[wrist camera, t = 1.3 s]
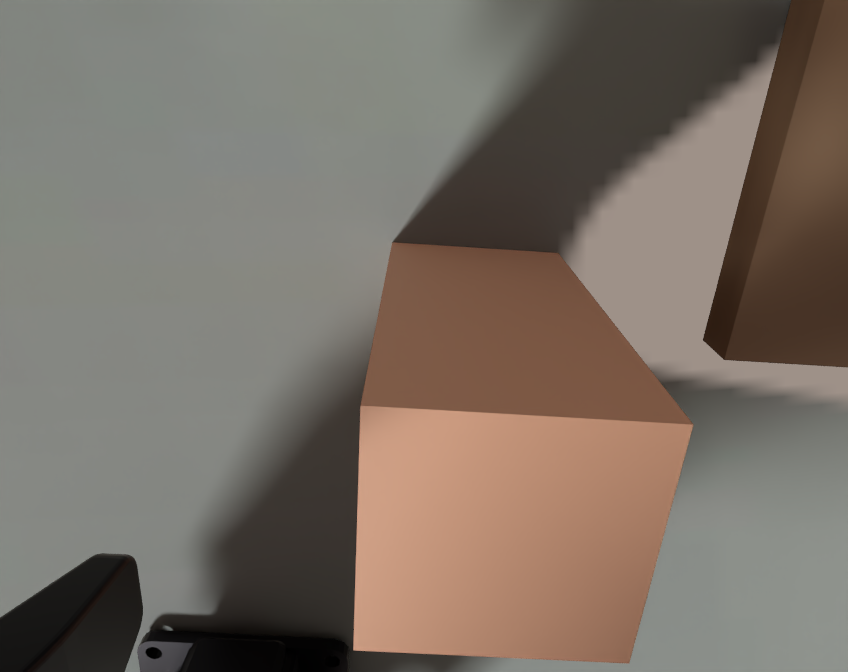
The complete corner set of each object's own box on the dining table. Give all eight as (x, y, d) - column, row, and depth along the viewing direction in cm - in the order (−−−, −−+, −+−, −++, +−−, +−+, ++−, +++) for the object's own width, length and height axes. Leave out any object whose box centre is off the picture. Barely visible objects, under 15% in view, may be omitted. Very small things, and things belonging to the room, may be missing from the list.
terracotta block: (535, 399, 16) (629, 663, 9) (385, 390, 16) (352, 650, 9) (558, 252, 15) (693, 424, 7) (392, 242, 15) (359, 405, 7)
